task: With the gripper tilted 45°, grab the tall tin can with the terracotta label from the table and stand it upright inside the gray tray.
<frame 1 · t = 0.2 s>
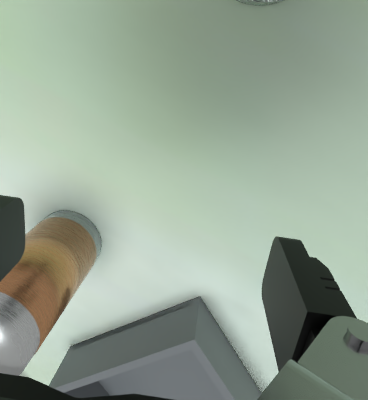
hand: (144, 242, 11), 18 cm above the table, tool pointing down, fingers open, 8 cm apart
tin can: (70, 239, 33), on the table
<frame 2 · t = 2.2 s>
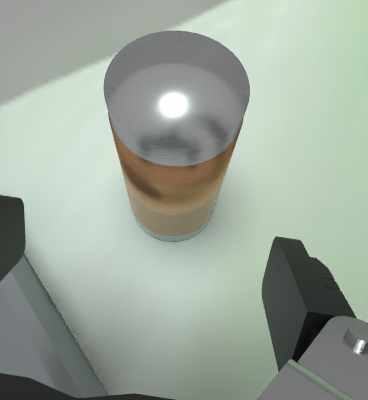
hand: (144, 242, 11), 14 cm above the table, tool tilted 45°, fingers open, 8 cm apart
tin can: (172, 203, 26), on the table
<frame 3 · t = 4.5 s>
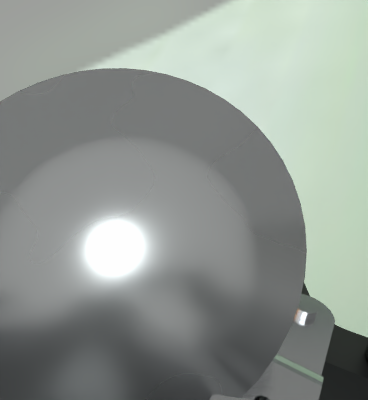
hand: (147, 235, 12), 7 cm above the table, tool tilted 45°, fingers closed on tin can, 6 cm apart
tin can: (148, 308, 17), on the table, touching gripper
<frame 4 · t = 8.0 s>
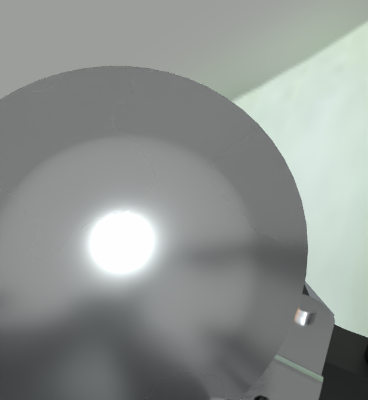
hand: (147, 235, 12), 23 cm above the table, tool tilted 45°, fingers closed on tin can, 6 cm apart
tin can: (148, 307, 17), point 16 cm above the table, touching gripper
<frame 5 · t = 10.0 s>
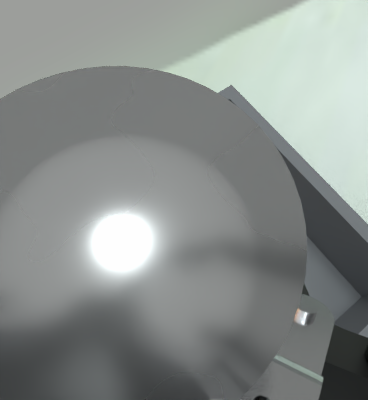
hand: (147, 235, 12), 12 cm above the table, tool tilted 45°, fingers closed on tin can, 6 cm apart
gray tray: (153, 313, 22), on the table
tin can: (148, 307, 17), point 5 cm above the table, touching gripper
when the fingers open (9 cm above the table, at t = 11.6 s): tin can drops 1 cm, resting on gray tray.
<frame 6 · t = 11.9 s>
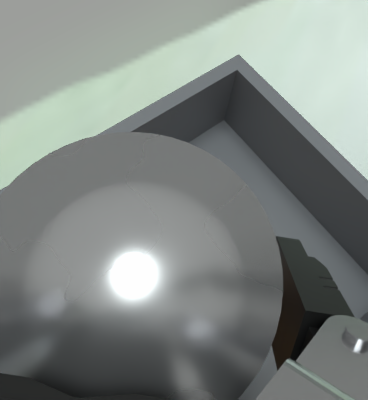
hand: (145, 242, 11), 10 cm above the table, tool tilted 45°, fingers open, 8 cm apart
gray tray: (149, 313, 20), on the table
tin can: (150, 314, 19), point 1 cm above the table, touching gray tray
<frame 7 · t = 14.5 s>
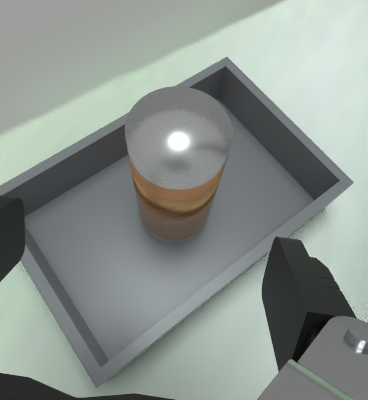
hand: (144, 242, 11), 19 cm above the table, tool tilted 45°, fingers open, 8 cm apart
gray tray: (173, 213, 32), on the table
tin can: (174, 211, 31), point 1 cm above the table, touching gray tray
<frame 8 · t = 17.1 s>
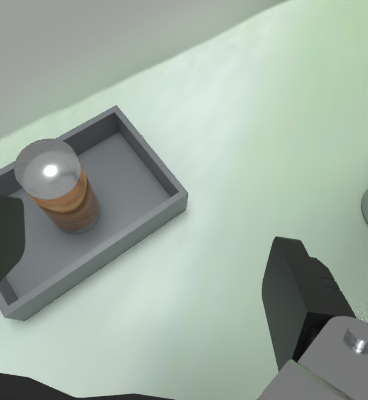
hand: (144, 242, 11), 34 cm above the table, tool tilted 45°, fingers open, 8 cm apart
gray tray: (78, 213, 47), on the table
tin can: (77, 212, 46), point 1 cm above the table, touching gray tray
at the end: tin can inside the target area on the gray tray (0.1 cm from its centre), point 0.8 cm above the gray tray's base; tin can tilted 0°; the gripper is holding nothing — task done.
